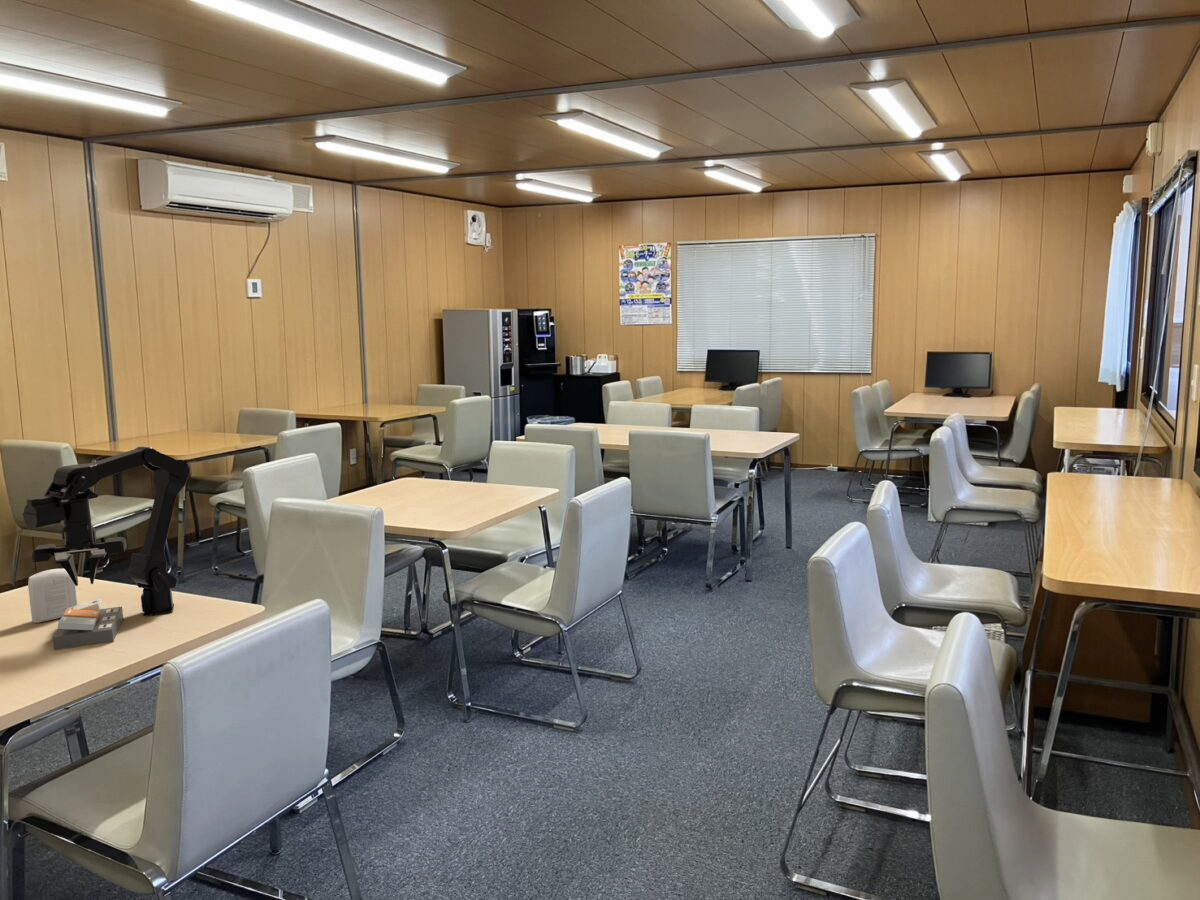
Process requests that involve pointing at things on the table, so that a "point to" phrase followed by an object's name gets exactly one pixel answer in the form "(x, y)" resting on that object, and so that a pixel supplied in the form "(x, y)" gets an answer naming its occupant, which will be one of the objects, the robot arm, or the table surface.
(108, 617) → the power strip
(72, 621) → the grey-blue rocker
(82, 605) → the ivory rocker
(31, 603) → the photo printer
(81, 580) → the table surface
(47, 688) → the table surface
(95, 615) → the orange box with knob
